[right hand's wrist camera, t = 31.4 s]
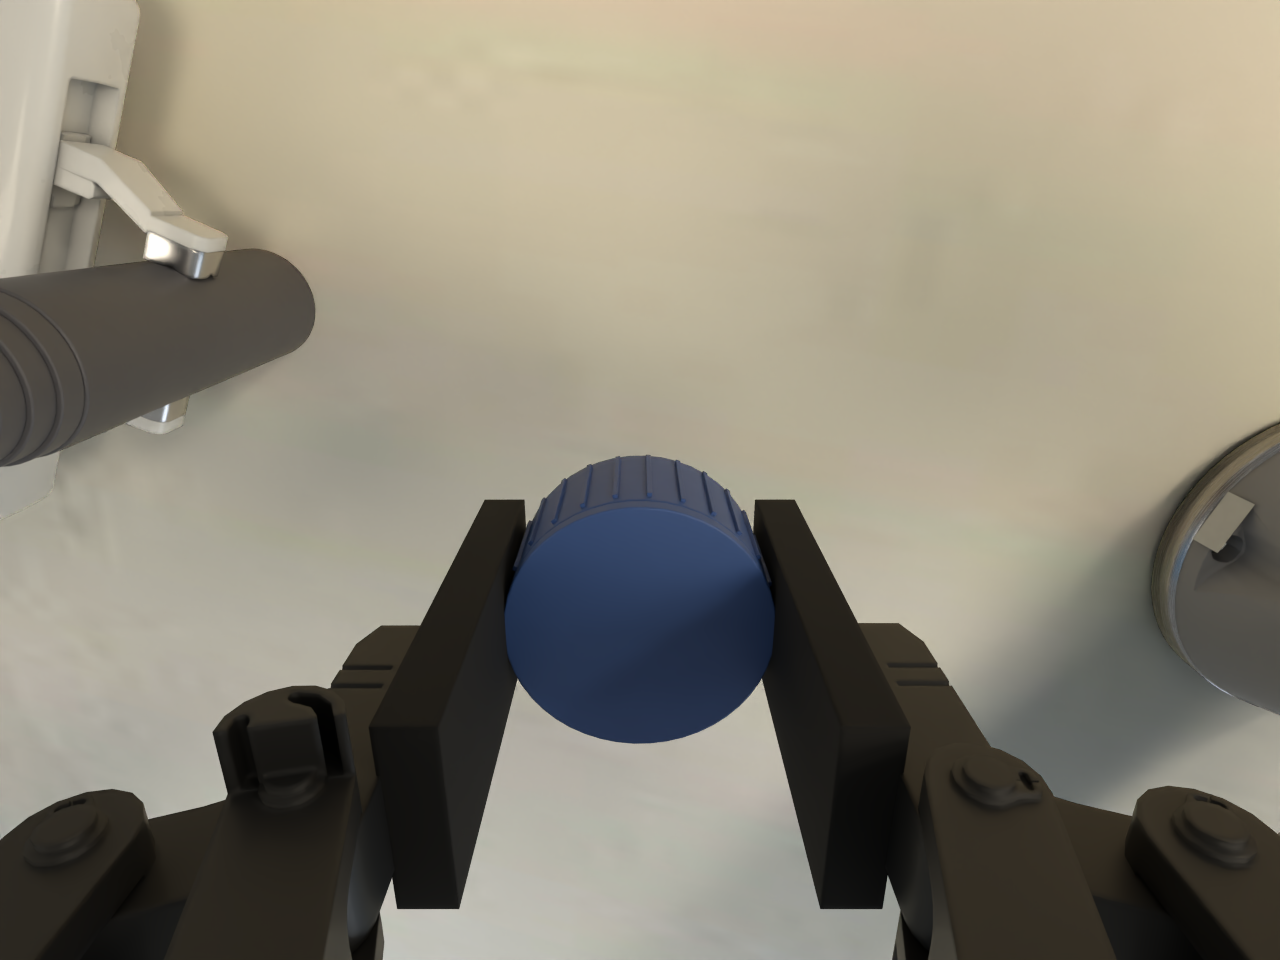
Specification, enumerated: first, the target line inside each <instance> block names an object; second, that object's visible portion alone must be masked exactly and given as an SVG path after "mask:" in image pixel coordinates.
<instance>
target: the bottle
mask: <svg viewBox="0 0 1280 960" xmlns="http://www.w3.org/2000/svg"><path fill="white" fill-rule="evenodd" d="M314 319H315V304H314V299H313V295H312V293H311V290H310V288H309V286H308V284H307V282H306V280H305V279H304V277H303V276H302V275H301V273H300V272H299V271H298V270H297V269H296V268H295V267H294V266H293V265H292V264H291V263H290V262H288V261H287V260H285V259H284V258H282V257H281V256H279V255H277V254H274V253H272V252H269V251H266V250H260V249H243V250H235V251H226V252H224V256H223V260H222V263H221V267H220V271H219V274H218V277H211V276H209V277H208V278H207V279H195V278H190V277H187V276H184V275H182V274H180V273H178V272H176V271H175V270H174V269H173V268H172V266H171V265H170V266H161V265H158V264H156V263H153V262H151V261H142V262H134V263H126V264H117V265H109V266H100V267H92V268H84V269H75V270H67V271H58V272H50V273H42V274H33V275H25V276H16V277H8V278H0V467H6V466H14V465H19V464H22V463H25V462H28V461H31V460H33V459H35V458H39V457H44V456H48V455H51V454H53V453H56V452H58V451H61V450H63V449H65V448H68V447H70V446H72V445H75V444H77V443H79V442H82V441H84V440H86V439H89V438H91V437H93V436H96V435H98V434H100V433H103V432H105V431H108V430H110V429H112V428H115V427H117V426H119V425H122V424H124V423H126V422H129V421H131V420H133V419H136V418H138V417H140V416H143V415H145V414H147V413H150V412H152V411H154V410H157V409H159V408H161V407H164V406H166V405H168V404H171V403H173V402H175V401H178V400H180V399H182V398H185V397H187V396H189V395H192V394H194V393H197V392H199V391H201V390H204V389H206V388H208V387H211V386H213V385H215V384H218V383H220V382H222V381H225V380H227V379H229V378H232V377H234V376H236V375H239V374H241V373H243V372H246V371H248V370H250V369H253V368H255V367H257V366H260V365H262V364H264V363H267V362H269V361H271V360H274V359H276V358H279V357H281V356H283V355H286V354H288V353H290V352H292V351H294V350H296V349H297V348H298V347H300V346H301V345H302V344H303V343H304V342H305V341H306V339H307V338H308V336H309V335H310V333H311V331H312V328H313V325H314Z"/></svg>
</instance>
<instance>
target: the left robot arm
mask: <svg viewBox="0 0 1280 960" xmlns="http://www.w3.org/2000/svg"><path fill="white" fill-rule="evenodd" d="M139 20H140V9H139V6H138V3H137V2H136V0H0V278H8V277H16V276H25V275H33V274H42V273H50V272H58V271H67V270H75V269H84V268H92V267H94V263H95V258H96V252H97V247H98V242H99V236H100V231H101V225H102V220H103V214H104V209H105V204H106V199H112V200H113V201H114V202H115V203H116V204H117V205H118V206H119V207H120V208H121V209H122V210H123V211H124V212H125V213H126V214H127V215H128V216H129V217H130V218H131V219H132V220H133V221H134V222H135V223H136V224H137V226H138V227H139V228H140V229H141V230H142V231H143V232H144V233H145V234H147V237H146V243H145V249H144V255H143V258H144V259H146V260H149V261H151V262H153V263H156V264H158V265H161V266H170V265H171V266H172V268H173V269H174V270H175V271H176V272H178V273H180V274H182V275H184V276H187V277H190V278H195V279H207V278H208V277H209V276H211V277H218V274H219V271H220V267H221V263H222V260H223V256H224V252H225V250H226V245H227V241H228V236H227V235H226V234H225V233H223V232H221V231H218V230H216V229H214V228H212V227H209V226H207V225H205V224H203V223H200V222H198V221H196V220H193V219H191V218H189V217H187V216H184V215H182V214H183V210H182V209H181V208H180V207H179V206H178V204H177V203H176V202H175V201H174V200H173V198H172V197H171V196H170V195H169V194H168V192H167V191H166V190H165V189H164V188H163V186H162V185H161V184H160V183H159V182H158V180H157V179H156V178H155V177H154V175H153V174H152V173H151V172H150V171H149V169H148V168H147V167H146V166H145V165H144V163H143V162H141V161H139V160H137V159H135V158H132V157H130V156H128V155H125V154H123V153H121V152H119V151H116V150H115V149H116V144H117V138H118V133H119V127H120V122H121V116H122V111H123V106H124V100H125V95H126V89H127V84H128V78H129V73H130V67H131V62H132V57H133V51H134V46H135V41H136V36H137V31H138V26H139ZM189 397H190V395H189V396H187V397H185V398H182V399H180V400H178V401H175V402H173V403H171V404H168V405H166V406H164V407H161V408H159V409H157V410H154V411H152V412H150V413H147V414H145V415H143V416H140V417H138V418H136V419H133V420H131V421H129V422H126V423H125V424H128V425H131V426H133V427H136V428H138V429H141V430H143V431H146V432H149V433H152V434H167V433H169V432H171V431H173V430H175V429H177V428H179V427H181V426H183V422H184V418H185V414H186V409H187V405H188V401H189ZM59 453H60V451H58V452H56V453H53V454H51V455H48V456H44V457H39V458H35V459H33V460H31V461H28V462H25V463H22V464H19V465H14V466H6V467H0V520H2V519H5V518H7V517H9V516H11V515H14V514H16V513H18V512H20V511H22V510H24V509H26V508H28V507H29V506H31V505H33V504H35V503H37V502H39V501H41V500H42V499H44V498H45V497H47V496H48V495H49V494H50V493H51V491H52V489H53V485H54V481H55V476H56V470H57V464H58V459H59Z"/></svg>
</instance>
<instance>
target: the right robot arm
mask: <svg viewBox="0 0 1280 960" xmlns="http://www.w3.org/2000/svg"><path fill="white" fill-rule="evenodd" d="M525 530H526V520H525V503H524V500H484V502H483V504H482V506H481V508H480V510H479V512H478V514H477V516H476V518H475V520H474V522H473V524H472V526H471V528H470V530H469V532H468V534H467V536H466V537H465V539H464V541H463V543H462V545H461V547H460V549H459V551H458V553H457V555H456V557H455V559H454V561H453V563H452V565H451V567H450V569H449V571H448V573H447V575H446V577H445V578H444V580H443V582H442V584H441V586H440V588H439V590H438V592H437V594H436V596H435V598H434V600H433V602H432V604H431V606H430V608H429V610H428V612H427V614H426V616H425V617H424V619H423V621H422V623H421V625H420V626H380V627H379V628H377V629H376V630H375V631H373V632H372V633H371V634H369V635H368V636H367V637H365V638H364V639H363V640H361V641H360V642H358V643H357V644H356V645H355V647H354V648H353V650H352V652H351V653H350V655H349V656H348V658H347V659H346V661H345V663H344V664H343V668H342V670H340V671H339V672H338V674H337V675H336V677H335V678H334V680H333V682H332V683H331V688H328V689H326V688H322V687H318V686H291V687H286V688H282V689H278V690H273V691H269V692H266V693H264V694H262V695H259V696H257V697H255V698H252V699H250V700H248V701H246V702H244V703H242V704H241V705H239V706H238V707H237V708H235V709H234V710H233V711H231V712H230V713H228V714H227V715H226V716H224V718H223V719H222V720H221V722H220V723H219V724H218V726H217V727H216V728H215V730H214V731H213V736H214V740H215V744H216V748H217V752H218V756H219V760H220V764H221V768H222V772H223V776H224V780H225V784H226V788H227V792H228V795H227V798H226V800H223V801H220V802H217V803H214V804H210V805H207V806H204V807H200V808H195V809H191V810H187V811H182V812H178V813H174V814H169V815H165V816H161V817H157V818H152V819H148V818H147V814H146V811H145V808H144V804H143V802H142V801H140V800H139V799H138V798H137V797H136V796H135V795H134V794H133V793H131V792H125V791H120V790H115V789H109V790H101V791H92V792H86V793H83V794H80V795H77V796H74V797H71V798H68V799H65V800H62V801H59V802H56V803H54V804H52V805H51V806H49V807H47V808H45V809H43V810H41V811H39V812H37V813H36V814H34V815H32V816H30V817H28V818H27V819H26V820H24V821H23V822H22V823H21V824H19V825H18V826H17V827H16V828H14V829H13V830H12V831H11V832H9V833H8V834H7V835H6V836H4V837H3V838H2V839H1V840H0V960H383V950H384V937H383V929H382V922H381V917H380V909H381V906H382V904H383V901H384V898H385V895H386V893H387V890H388V887H389V884H390V882H391V879H393V885H394V892H395V898H396V904H397V909H459V907H460V903H461V899H462V895H463V891H464V888H465V884H466V880H467V876H468V872H469V868H470V864H471V860H472V856H473V852H474V848H475V844H476V840H477V836H478V832H479V828H480V824H481V821H482V817H483V813H484V809H485V805H486V801H487V797H488V793H489V789H490V785H491V781H492V777H493V773H494V769H495V765H496V761H497V757H498V753H499V750H500V746H501V742H502V738H503V734H504V730H505V726H506V722H507V718H508V714H509V710H510V706H511V702H512V698H513V694H514V690H515V686H516V683H517V679H518V678H517V676H516V674H515V673H514V671H513V668H512V666H511V663H510V661H509V658H508V655H507V644H506V631H505V616H504V608H505V603H506V598H507V594H508V591H509V588H510V585H511V582H512V579H513V576H514V573H515V571H513V570H512V569H513V566H514V563H515V560H516V557H517V554H518V551H519V548H520V545H521V542H522V539H523V536H524V533H525ZM753 535H755V536H756V539H757V541H758V544H759V547H760V550H761V553H762V556H763V559H764V562H765V564H766V567H767V570H768V573H769V576H770V579H771V582H772V584H771V586H770V590H771V593H772V597H773V601H774V605H775V622H774V636H773V648H772V656H771V659H770V661H769V664H768V667H767V669H766V671H765V673H764V675H763V677H762V680H763V684H764V688H765V692H766V696H767V700H768V704H769V708H770V712H771V716H772V720H773V724H774V728H775V732H776V736H777V740H778V744H779V748H780V751H781V755H782V759H783V763H784V767H785V771H786V775H787V779H788V783H789V787H790V791H791V795H792V799H793V803H794V807H795V811H796V815H797V819H798V822H799V826H800V830H801V834H802V838H803V842H804V846H805V850H806V854H807V858H808V862H809V866H810V870H811V874H812V878H813V882H814V886H815V889H816V893H817V897H818V901H819V905H820V909H882V908H883V901H884V895H885V889H886V882H887V876H888V877H889V879H890V882H891V885H892V887H893V890H894V893H895V896H896V898H897V901H898V904H899V907H900V909H901V911H900V916H899V922H898V928H897V934H896V940H895V946H894V952H893V958H892V960H1280V833H1278V834H1277V833H1276V832H1274V831H1273V830H1272V829H1271V828H1269V827H1268V826H1267V825H1265V824H1264V823H1263V822H1262V821H1260V820H1259V819H1258V818H1257V817H1255V816H1254V815H1253V814H1251V813H1249V812H1247V811H1246V810H1244V809H1242V808H1240V807H1238V806H1236V805H1234V804H1232V803H1231V802H1229V801H1227V800H1225V799H1223V798H1220V797H1217V796H1214V795H1211V794H1208V793H1205V792H1202V791H1199V790H1196V789H1190V788H1182V787H1173V786H1165V787H1159V788H1154V789H1148V790H1147V791H1146V792H1145V793H1144V794H1143V795H1142V796H1141V797H1140V798H1139V799H1137V802H1136V805H1135V809H1134V812H1133V815H1132V816H1128V815H1124V814H1120V813H1115V812H1111V811H1107V810H1102V809H1098V808H1094V807H1089V806H1085V805H1081V804H1076V803H1073V802H1070V801H1067V800H1063V799H1060V798H1057V797H1054V796H1053V794H1052V792H1051V790H1050V789H1049V787H1048V786H1047V784H1046V783H1045V781H1044V780H1043V778H1042V777H1041V776H1040V775H1039V774H1038V773H1037V772H1036V771H1034V770H1033V769H1032V768H1031V767H1029V766H1028V765H1027V764H1026V763H1025V762H1023V761H1022V760H1020V759H1018V758H1016V757H1014V756H1012V755H1010V754H1008V753H1006V752H1004V751H1002V750H1000V749H996V748H992V747H991V746H990V745H989V743H988V742H987V740H986V739H985V737H984V735H983V734H982V732H981V731H980V729H979V728H978V726H977V725H976V723H975V721H974V720H973V718H972V717H971V715H970V714H969V712H968V710H967V709H966V707H965V706H964V704H963V703H962V701H961V700H960V698H959V696H958V695H957V693H956V692H955V690H954V689H953V687H952V686H949V681H948V679H947V678H946V676H945V674H944V673H943V671H942V670H941V668H938V666H937V662H936V660H935V659H934V657H933V656H932V654H931V653H930V651H929V649H928V648H927V646H926V645H925V643H924V642H923V641H922V640H921V639H919V638H918V637H916V636H915V635H914V634H912V633H911V632H910V631H908V630H907V629H906V628H904V627H903V626H902V625H900V624H899V623H858V622H857V620H856V619H855V617H854V615H853V613H852V611H851V609H850V607H849V605H848V603H847V601H846V599H845V597H844V595H843V593H842V591H841V589H840V587H839V585H838V583H837V581H836V579H835V578H834V576H833V574H832V572H831V570H830V568H829V566H828V564H827V562H826V560H825V558H824V556H823V554H822V552H821V550H820V548H819V546H818V544H817V542H816V540H815V539H814V537H813V535H812V533H811V531H810V529H809V527H808V525H807V523H806V521H805V519H804V517H803V515H802V513H801V511H800V509H799V507H798V505H797V503H796V501H795V500H755V511H754V528H753ZM1151 592H1152V604H1153V609H1154V614H1155V617H1156V620H1157V623H1158V626H1159V628H1160V630H1161V632H1162V634H1163V636H1164V638H1165V639H1166V641H1167V642H1168V644H1169V645H1170V647H1171V648H1172V649H1173V650H1174V651H1175V653H1176V654H1177V655H1178V656H1179V657H1180V658H1182V659H1183V660H1184V661H1185V662H1186V663H1187V664H1188V665H1190V666H1191V667H1192V668H1193V669H1194V670H1195V671H1197V672H1198V673H1199V674H1200V675H1201V676H1202V677H1204V678H1205V679H1206V680H1207V681H1208V682H1210V683H1211V684H1213V685H1214V686H1215V687H1217V688H1218V689H1220V690H1222V691H1224V692H1226V693H1227V694H1229V695H1231V696H1234V697H1236V698H1238V699H1240V700H1243V701H1245V702H1248V703H1250V704H1252V705H1255V706H1257V707H1262V708H1264V709H1266V710H1268V711H1271V712H1273V713H1275V714H1278V715H1280V424H1278V425H1276V426H1273V427H1271V428H1269V429H1268V430H1266V431H1264V432H1262V433H1260V434H1258V435H1256V436H1255V437H1253V438H1251V439H1250V440H1248V441H1247V442H1245V443H1244V444H1242V445H1240V446H1239V447H1238V448H1236V449H1235V450H1234V451H1232V452H1231V453H1230V454H1228V455H1227V456H1225V457H1224V458H1223V459H1222V460H1221V461H1220V462H1218V463H1217V464H1216V465H1215V466H1214V467H1213V468H1212V469H1211V470H1210V471H1209V472H1208V473H1207V474H1206V475H1205V476H1204V477H1203V478H1202V479H1201V480H1200V481H1199V482H1198V483H1197V484H1196V485H1195V486H1194V488H1193V489H1192V490H1191V491H1190V492H1189V493H1188V495H1187V496H1186V497H1185V499H1184V500H1183V502H1182V503H1181V504H1180V506H1179V507H1178V509H1177V510H1176V512H1175V514H1174V515H1173V517H1172V519H1171V520H1170V522H1169V524H1168V526H1167V528H1166V530H1165V532H1164V534H1163V537H1162V539H1161V542H1160V545H1159V547H1158V550H1157V554H1156V558H1155V561H1154V567H1153V573H1152V586H1151Z"/></svg>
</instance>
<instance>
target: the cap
mask: <svg viewBox="0 0 1280 960" xmlns="http://www.w3.org/2000/svg"><path fill="white" fill-rule="evenodd" d="M512 570H513V571H515V573H514V576H513V579H512V582H511V585H510V588H509V591H508V594H507V598H506V603H505V608H504V616H505V631H506V644H507V655H508V658H509V661H510V663H511V666H512V668H513V671H514V673H515V674H516V676H517V678H518V680H519V681H520V683H521V685H522V686H523V687H524V689H525V690H526V691H527V693H528V694H529V695H530V696H531V698H532V699H533V700H534V701H535V702H536V703H537V704H538V705H539V706H540V707H541V708H542V709H544V710H545V711H546V712H548V713H549V714H550V715H551V716H553V717H554V718H555V719H557V720H559V721H560V722H562V723H564V724H565V725H567V726H569V727H571V728H573V729H575V730H578V731H580V732H582V733H584V734H587V735H590V736H594V737H597V738H600V739H604V740H609V741H614V742H622V743H633V744H635V743H657V742H665V741H670V740H674V739H679V738H683V737H686V736H689V735H692V734H694V733H697V732H700V731H702V730H704V729H706V728H708V727H710V726H712V725H714V724H716V723H717V722H719V721H720V720H722V719H723V718H725V717H727V716H728V715H729V714H730V713H732V712H733V711H734V710H735V709H737V708H738V707H739V706H740V705H741V704H742V703H743V702H744V701H745V700H746V699H747V698H748V697H749V696H750V694H751V693H752V692H753V690H754V689H755V688H756V686H757V685H758V683H759V682H760V680H761V678H762V677H763V675H764V673H765V671H766V669H767V667H768V664H769V661H770V659H771V656H772V648H773V636H774V622H775V605H774V601H773V597H772V593H771V590H770V586H771V584H772V582H771V579H770V576H769V573H768V570H767V567H766V564H765V562H764V559H763V556H762V553H761V550H760V547H759V544H758V541H757V539H756V536H755V535H753V532H752V529H751V526H750V523H749V520H748V517H747V514H746V512H745V510H743V511H741V509H740V508H739V506H738V504H737V503H736V502H735V501H734V499H733V498H732V497H731V495H730V491H729V490H728V489H724V488H723V487H721V486H720V485H719V484H718V483H717V482H716V481H714V480H713V479H712V478H710V477H709V476H708V475H707V473H706V472H704V471H703V473H702V472H701V471H699V470H697V469H695V468H693V467H691V466H688V465H686V464H683V463H680V461H678V460H676V461H674V460H670V459H666V458H661V457H652V456H650V455H646V456H626V457H620V456H618V457H616V458H613V459H609V460H605V461H602V462H598V463H596V464H593V465H591V464H590V465H587V467H586V468H584V469H582V470H580V471H579V472H577V473H575V474H573V475H572V476H570V477H569V478H567V479H565V478H564V479H563V480H562V482H561V484H560V485H558V486H557V487H556V488H555V489H554V490H553V491H552V492H551V493H550V494H549V495H548V497H547V498H543V499H542V501H541V504H540V507H539V509H538V511H537V513H536V515H535V517H534V518H533V520H532V521H530V520H529V522H528V525H527V528H526V530H525V533H524V536H523V539H522V542H521V545H520V548H519V551H518V554H517V557H516V560H515V563H514V566H513V569H512Z"/></svg>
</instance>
